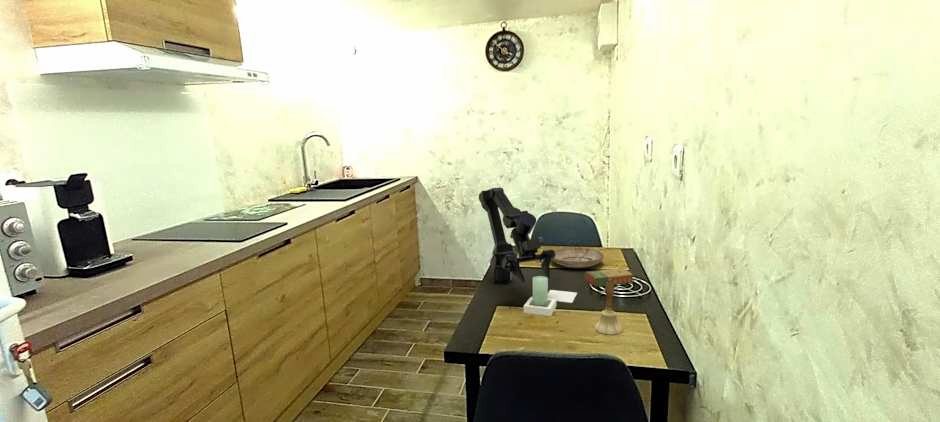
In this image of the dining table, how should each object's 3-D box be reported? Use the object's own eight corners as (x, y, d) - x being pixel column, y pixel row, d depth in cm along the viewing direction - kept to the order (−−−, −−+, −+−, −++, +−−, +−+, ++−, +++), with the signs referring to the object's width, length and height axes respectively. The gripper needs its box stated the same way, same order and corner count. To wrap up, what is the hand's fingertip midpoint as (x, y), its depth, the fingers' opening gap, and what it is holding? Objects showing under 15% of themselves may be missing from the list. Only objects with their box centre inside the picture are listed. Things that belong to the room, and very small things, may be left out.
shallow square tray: (523, 314, 157) (523, 306, 156) (530, 304, 165) (530, 296, 164) (550, 317, 153) (550, 309, 153) (556, 307, 161) (556, 299, 161)
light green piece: (531, 311, 158) (530, 279, 156) (535, 305, 162) (534, 275, 160) (545, 313, 156) (545, 281, 154) (549, 307, 160) (549, 276, 158)
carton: (632, 284, 183) (633, 273, 182) (594, 288, 180) (594, 277, 179) (622, 277, 191) (622, 267, 190) (585, 281, 188) (585, 270, 187)
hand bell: (603, 321, 150) (604, 273, 147) (627, 328, 144) (629, 278, 141) (589, 329, 144) (589, 279, 141) (613, 337, 138) (615, 285, 135)
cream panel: (543, 301, 167) (543, 299, 167) (550, 291, 176) (550, 289, 176) (572, 304, 164) (572, 302, 163) (577, 294, 173) (577, 292, 172)
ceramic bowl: (610, 260, 213) (610, 250, 212) (593, 275, 194) (593, 263, 193) (561, 254, 226) (561, 244, 225) (541, 267, 206) (541, 256, 205)
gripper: (503, 232, 159) (517, 272, 151) (553, 226, 165) (569, 265, 156) (496, 249, 168) (508, 288, 159) (543, 243, 173) (557, 281, 165)
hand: (536, 280), depth 160 cm, fingers open, 9 cm apart
